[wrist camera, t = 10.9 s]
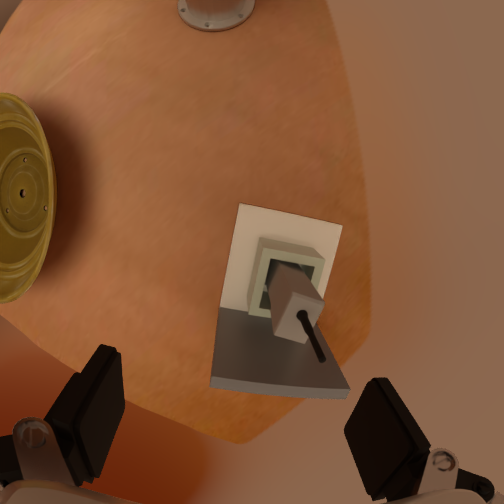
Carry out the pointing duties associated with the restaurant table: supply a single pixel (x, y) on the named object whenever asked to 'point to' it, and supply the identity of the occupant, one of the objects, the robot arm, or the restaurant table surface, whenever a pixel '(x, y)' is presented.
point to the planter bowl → (32, 205)
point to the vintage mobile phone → (293, 303)
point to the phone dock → (258, 309)
